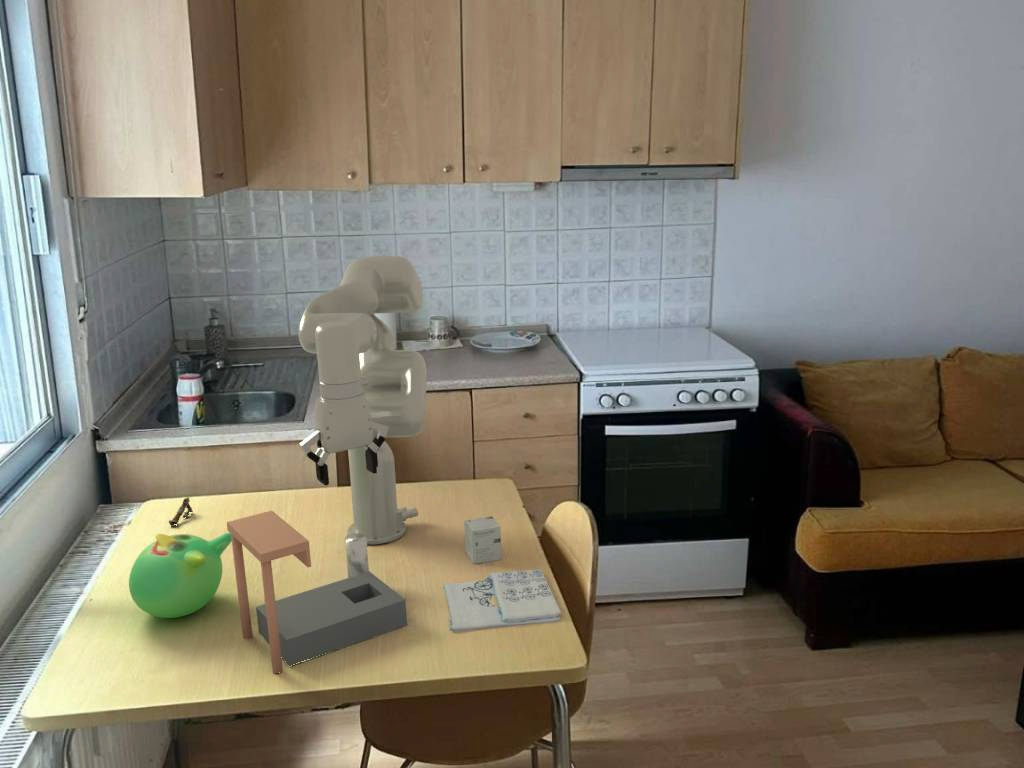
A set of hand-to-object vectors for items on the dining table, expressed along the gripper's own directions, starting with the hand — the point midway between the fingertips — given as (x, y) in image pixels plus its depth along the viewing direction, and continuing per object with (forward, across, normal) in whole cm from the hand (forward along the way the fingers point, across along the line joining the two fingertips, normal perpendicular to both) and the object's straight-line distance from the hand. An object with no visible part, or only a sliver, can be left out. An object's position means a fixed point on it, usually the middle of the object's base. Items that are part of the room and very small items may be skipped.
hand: (348, 477), depth 177 cm
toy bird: (+23, +30, -11) cm, 39 cm away
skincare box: (+23, -26, +4) cm, 35 cm away
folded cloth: (+23, -18, +22) cm, 37 cm away
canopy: (+22, +20, +13) cm, 33 cm away
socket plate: (+22, +10, +12) cm, 28 cm away
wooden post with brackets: (+23, +19, -54) cm, 62 cm away
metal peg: (+22, 0, 0) cm, 22 cm away
